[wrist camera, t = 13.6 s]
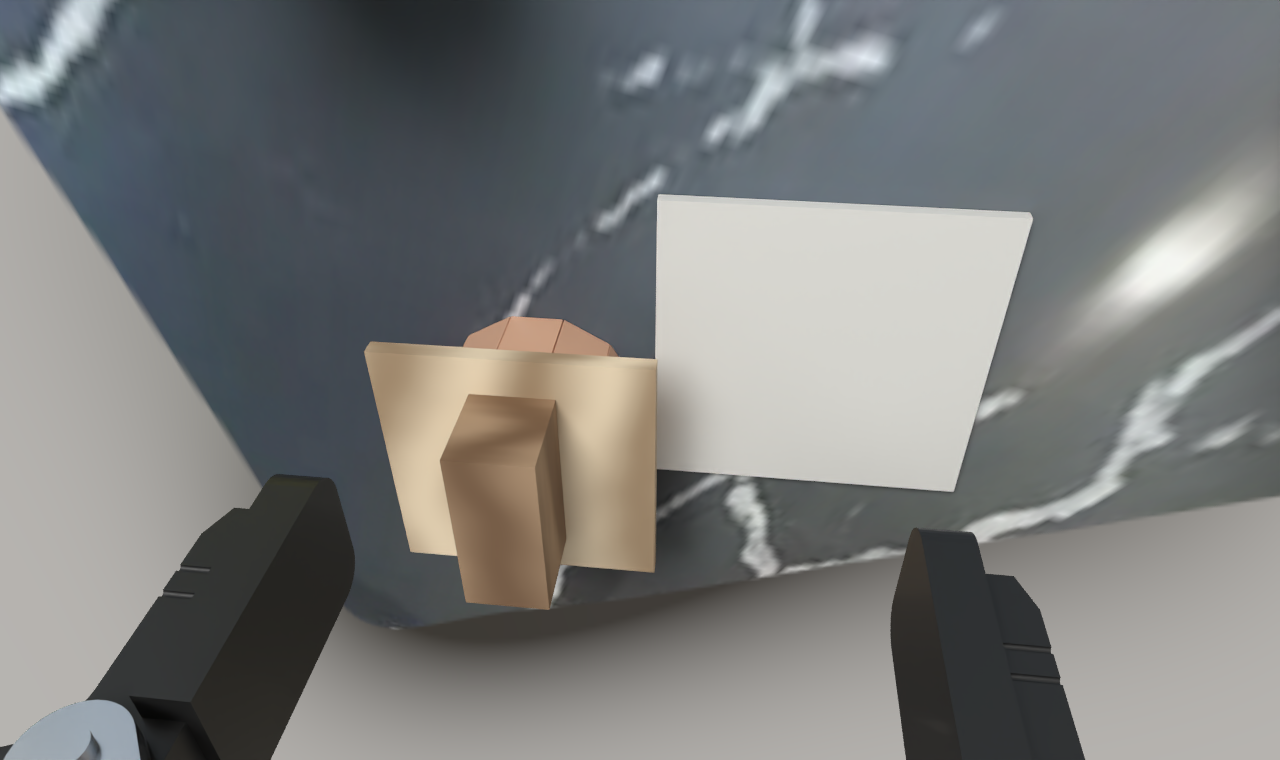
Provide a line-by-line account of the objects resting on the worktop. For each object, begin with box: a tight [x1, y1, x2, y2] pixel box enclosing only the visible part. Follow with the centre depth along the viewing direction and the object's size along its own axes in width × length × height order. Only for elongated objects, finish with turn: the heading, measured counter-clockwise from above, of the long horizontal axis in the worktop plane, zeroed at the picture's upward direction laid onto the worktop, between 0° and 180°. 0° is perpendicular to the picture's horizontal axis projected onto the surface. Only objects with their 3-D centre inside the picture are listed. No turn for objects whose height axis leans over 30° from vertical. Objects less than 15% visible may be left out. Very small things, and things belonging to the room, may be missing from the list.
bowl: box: [462, 316, 619, 357], centre depth 46 cm, size 10×10×5 cm
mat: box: [655, 194, 1033, 492], centre depth 44 cm, size 16×16×1 cm
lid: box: [364, 342, 658, 610], centre depth 41 cm, size 13×13×5 cm
